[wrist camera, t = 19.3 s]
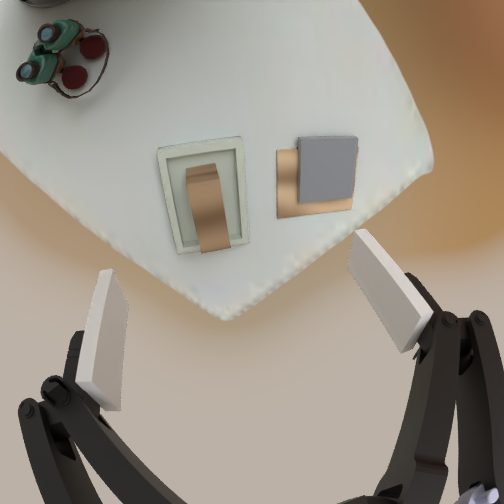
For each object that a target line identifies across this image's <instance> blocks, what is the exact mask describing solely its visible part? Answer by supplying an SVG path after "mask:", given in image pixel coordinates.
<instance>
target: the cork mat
mask: <svg viewBox="0 0 504 504" xmlns="http://www.w3.org/2000/svg"><path fill="white" fill-rule="evenodd" d="M357 157H358V148H357ZM356 167H357V158H356ZM355 176H356V168H355ZM297 183H298V149H284V150H277V218H285V217H293V216H300V215H308V214H315V213H323V212H331V211H340V210H348V209H351V208H352V200H353V194H352V198H347V199H338V200H328V201H319V202H311V203H302V204H299V202H298V201H297ZM354 185H355V177H354ZM353 193H354V186H353Z"/></svg>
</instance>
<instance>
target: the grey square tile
mask: <svg viewBox="0 0 504 504" xmlns="http://www.w3.org/2000/svg"><path fill="white" fill-rule="evenodd" d="M357 148H358V138H357V137H355V136H314V137H298V183H297V201H298V202H299V204H302V203H311V202H319V201H328V200H338V199H347V198H352V194H353V186H354V177H355V168H356V158H357Z"/></svg>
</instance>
